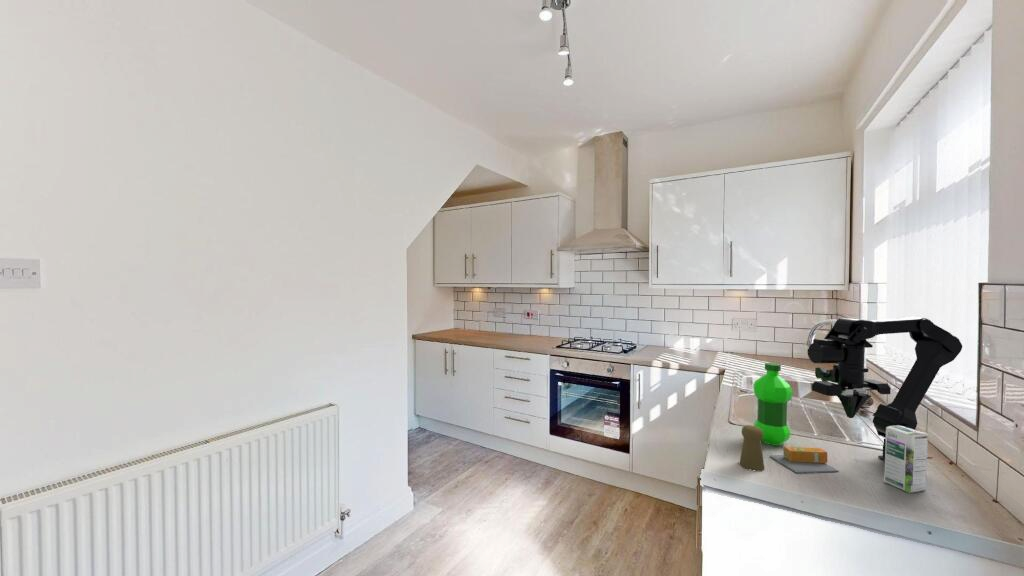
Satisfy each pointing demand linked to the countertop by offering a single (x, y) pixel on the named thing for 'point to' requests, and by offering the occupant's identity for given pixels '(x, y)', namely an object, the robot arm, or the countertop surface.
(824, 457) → the supplement box
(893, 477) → the syrup box
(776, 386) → the plastic bottle
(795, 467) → the rubber mat
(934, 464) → the countertop surface
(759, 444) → the cork
